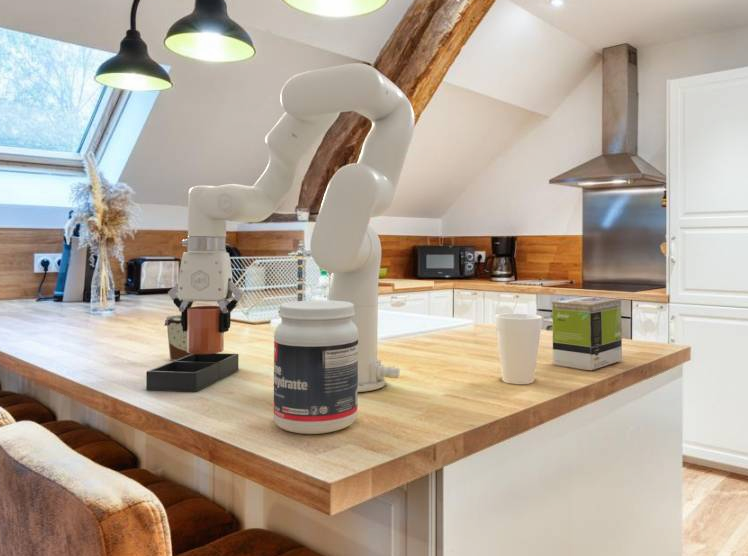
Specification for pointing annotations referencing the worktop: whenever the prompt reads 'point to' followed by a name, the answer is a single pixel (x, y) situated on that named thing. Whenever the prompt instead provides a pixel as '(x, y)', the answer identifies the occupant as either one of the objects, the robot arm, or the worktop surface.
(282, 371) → the supplement tub
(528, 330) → the foam cup
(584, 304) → the tea box
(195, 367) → the holder
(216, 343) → the cup
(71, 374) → the worktop surface
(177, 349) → the food container
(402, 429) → the worktop surface
